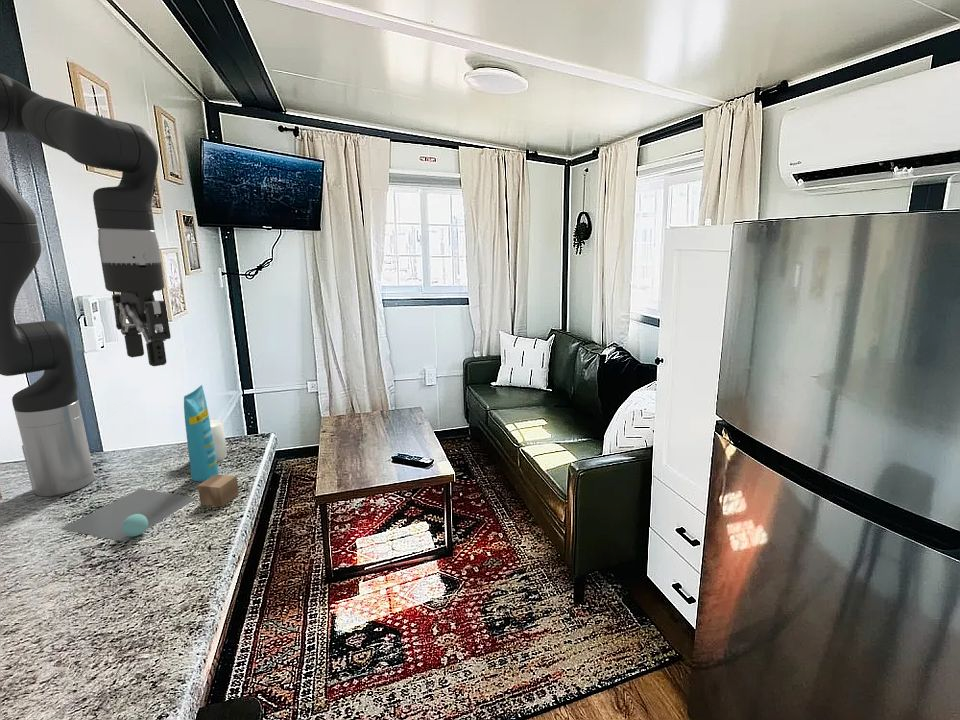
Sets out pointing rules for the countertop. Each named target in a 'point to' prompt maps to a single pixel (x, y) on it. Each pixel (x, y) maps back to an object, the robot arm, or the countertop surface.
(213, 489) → the walnut block
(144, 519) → the teal ball
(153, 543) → the countertop surface
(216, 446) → the white rounded cylinder
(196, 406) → the tube
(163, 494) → the plate
